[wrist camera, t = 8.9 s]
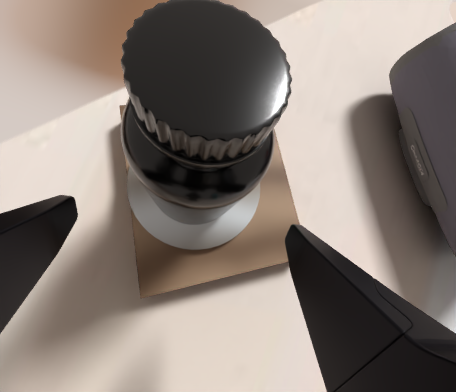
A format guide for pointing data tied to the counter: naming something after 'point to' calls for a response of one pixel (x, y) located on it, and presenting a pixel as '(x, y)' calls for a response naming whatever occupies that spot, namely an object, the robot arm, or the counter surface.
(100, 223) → the counter surface
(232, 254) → the walnut board
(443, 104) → the bluetooth speaker
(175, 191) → the supplement bottle
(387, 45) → the counter surface
